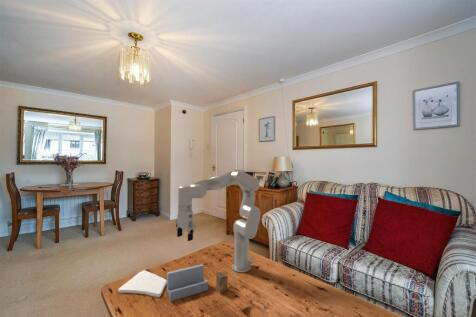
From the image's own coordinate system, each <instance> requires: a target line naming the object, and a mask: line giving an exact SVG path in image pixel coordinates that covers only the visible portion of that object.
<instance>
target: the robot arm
mask: <svg viewBox="0 0 476 317" xmlns="http://www.w3.org/2000/svg"><path fill="white" fill-rule="evenodd" d="M232 185H238V186H239V188H240V189H241V191H242V200H241V202H240V203H241V204H240V208H239V213H238V214H239V216H240V217H242V218H244V219H241V218H240V219H239V218H238V219H237V220H235V221H234V223H233V228H232V229H233V235H234V236H233V237H234V256H233V257H234V258H233V259H234V261H233V262H234V263H233V264H232V265H231V268H232V270H233V271H235V272H236V273H247V272H249V271H250V270H251V269H252V266H251V264H255V262H256V260H255V259H251V258H249V254H250V252H249V251H250V250H249V248H250V240H251V239H253V238H255V237H256V235H257V232H258V229H259V225H260V221H261V210H260V208H259V207H257V206H255V201H256V191H258V190H259V189H260V182H259V180H258V179H257V177H254V176H252V175H250V174H249V173H247V172H244V171H243V170H229V171H227V172H225V173H222V174H220V175H217V176H212V177H209V178H206V179H201V180H199V181H195V182H193V183H191V184H190V185H180V186H178V192H177V193H178V196H177V198H178V201H177V204H178V205H177V217H176V218H177V219H175V222H174V223H175V227H176V237H177V238H179V237H183V229H184V230H186V231H187V242H190V241H193V240H194V232H195V231H196V228H197V227H196V225H195V218H194V217H195V216H194V210H193V199H203V198H205V196H206V195H207V191H219V190H222V189H224V188H227V187H230V186H232ZM245 219H246V220H245Z"/></svg>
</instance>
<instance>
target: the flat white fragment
mask: <svg viewBox="0 0 476 317" xmlns="http://www.w3.org/2000/svg"><path fill="white" fill-rule="evenodd" d="M165 287H167V278H166V279H165V278H163V277H162V276H159V275H157V274H155V273H153V272H150V271H147V270H146V269H143V270H141V271H139V272H137V273H136V274H135V275H134V276H133V277H132V278H131V279H129V280H128V281H126V282H125V283H124V284H123V285H121V286H120V287H119V288H118V289H117V292H118V293H119V294H138V295H139V294H140V295H147V296H151V297H155V298H160V297H161V296H162V295H163V293H164V289H165Z"/></svg>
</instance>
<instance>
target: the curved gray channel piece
mask: <svg viewBox="0 0 476 317" xmlns="http://www.w3.org/2000/svg"><path fill="white" fill-rule="evenodd" d="M204 266H205V265H204V264H198V265H192V266H189V267H188V266H187V267H183V268H179V269H176V270H171V271H168V272H166V277H167V278H166V280H167V284H166V292H167V295H168V299H169V301H170V302H172V301H176V300H179V299H183V298H186V297H189V296H193V295H196V294H199V293H202V292H206V291H207V292H208V290H209V281H208V280H205V278H204V275H205V274H204V270H205V268H204Z"/></svg>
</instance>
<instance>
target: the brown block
mask: <svg viewBox="0 0 476 317" xmlns="http://www.w3.org/2000/svg"><path fill="white" fill-rule="evenodd" d="M228 280H229V279H228V275H227V274H226V272H225V271H221V272H218V273H216V279H215V281H216V284H215V286H216V287H215V288H216V290H217V292H218V293H219V294H221V293H225V292H228Z"/></svg>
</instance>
